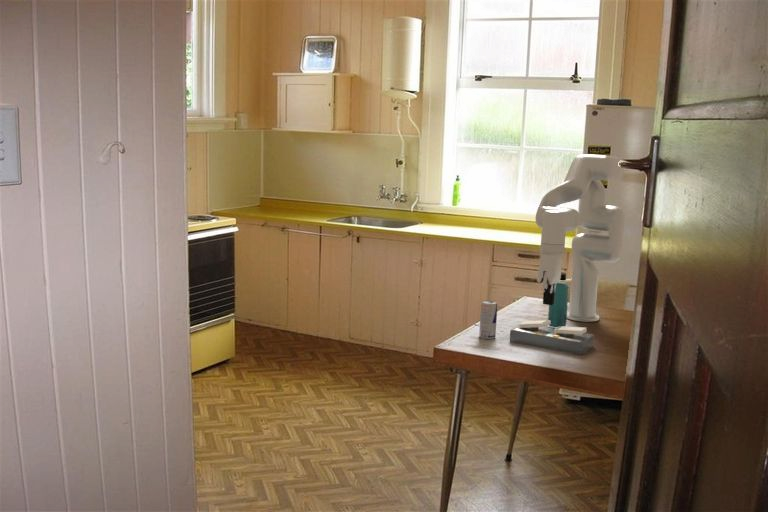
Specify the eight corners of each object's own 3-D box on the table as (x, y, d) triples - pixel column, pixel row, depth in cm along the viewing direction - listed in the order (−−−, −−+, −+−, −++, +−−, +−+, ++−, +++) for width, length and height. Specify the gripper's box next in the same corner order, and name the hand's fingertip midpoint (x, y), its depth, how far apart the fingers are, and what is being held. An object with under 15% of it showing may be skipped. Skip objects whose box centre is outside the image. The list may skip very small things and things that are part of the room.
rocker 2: (559, 329, 258) (559, 325, 258) (586, 331, 254) (586, 327, 254) (554, 332, 254) (554, 329, 254) (581, 334, 250) (581, 330, 249)
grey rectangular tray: (523, 333, 269) (524, 319, 268) (592, 346, 257) (594, 331, 256) (509, 341, 259) (510, 327, 258) (581, 355, 247) (582, 340, 246)
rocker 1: (525, 324, 265) (524, 321, 265) (550, 323, 260) (550, 320, 260) (519, 327, 260) (519, 324, 260) (545, 326, 256) (544, 323, 256)
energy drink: (497, 336, 264) (500, 301, 262) (491, 340, 260) (493, 304, 257) (483, 334, 267) (485, 299, 265) (476, 337, 262) (478, 302, 260)
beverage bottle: (566, 332, 273) (570, 275, 269) (546, 330, 274) (550, 274, 271) (565, 327, 279) (570, 272, 276) (546, 326, 280) (550, 270, 277)
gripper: (549, 244, 262) (545, 298, 265) (533, 250, 249) (529, 306, 252) (571, 247, 258) (566, 301, 261) (556, 252, 245) (551, 310, 249)
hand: (548, 304), depth 257 cm, fingers closed
